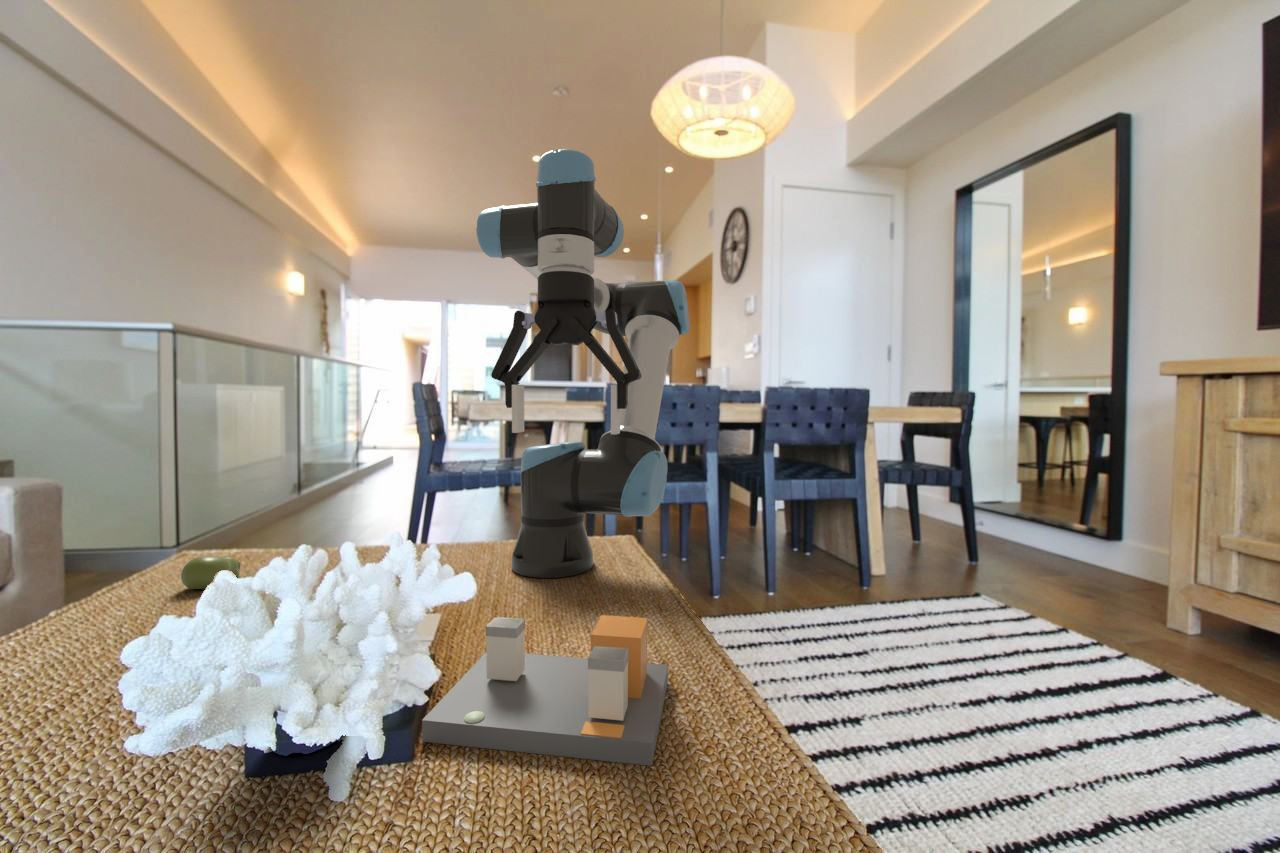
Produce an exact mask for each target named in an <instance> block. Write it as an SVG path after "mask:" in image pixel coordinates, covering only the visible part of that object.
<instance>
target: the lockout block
mask: <svg viewBox="0 0 1280 853" xmlns="http://www.w3.org/2000/svg"><path fill="white" fill-rule="evenodd" d="M594 646H603V647H616V648H629V659H628V697H629V698H641V695H642V691H643V687H644V683H645V679H646V676H647V663H648V617H636V616H635V617H634V616H621V615H605V614H601V615H600V617H599V619H598V621H597V622H596V624H595V626H594V628H593V629H592V631H591V633H590V652H591V651H592V649H593V647H594Z"/></svg>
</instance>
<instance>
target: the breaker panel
mask: <svg viewBox="0 0 1280 853" xmlns="http://www.w3.org/2000/svg"><path fill="white" fill-rule="evenodd" d="M668 677H669V665H668V664H663V663H662V664H661V663H649V662H647V676H646V679H645V683H644V687H643V691H642V695H641V698H629V697H628V707H627V710H626V713H625V716H624V720H623V721H622V720H611V719H601V718H590V717H588V690H589V669H588V657H585V658H584V657H573V656H559V655H549V654H534V653H525V670H524V671H523V673H522V674H521V676H520V677H519V678H518V680H517V681H508V680H497V679H487V653H486V652H485V653H484V654H483V655H482V656H481V657H480V658H479V659H478V660H477V661H476V662H475V663H474V664H473V665H472V666H471V667H470V668H469V670H467V672H466V673H465V674H463V676H462V677H461V678H460V679H459V680H458V681H457V682H456V683H455V684H454V686H453V687H452V688H451V689H450V690H449V691H448V692H447V693H446V694H445V695H444V696H443V697H442V698H441V700H439V701H438V703H436V705H435V706H434V707H433V708H432V709H431V710H430V711H429V712H428V713H427V714H426V715H425V717H423V719H421V733H422V734H421V736H422V738H421V740H422V742H424V743H433V744H441V745H451V746H462V747H470V748H481V749H489V750H499V751H508V752H515V753H516V752H517V753H527V754H528V753H529V754H535V755H544V756H545V755H546V756H555V757H562V758H563V757H565V758H573V759H574V758H575V759H583V760H594V761H602V762H603V761H604V762H612V763H619V764H620V763H623V764H629V765H638V766H639V765H641V766H650V767H652V766H653V761H654V757H655V751H656V746H657V741H658V740H657V739H658V736H659V731H660V725H661V720H662V714H663V709H664V704H665V700H666V693H667V689H668V688H667V687H668V682H669V678H668Z"/></svg>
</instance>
